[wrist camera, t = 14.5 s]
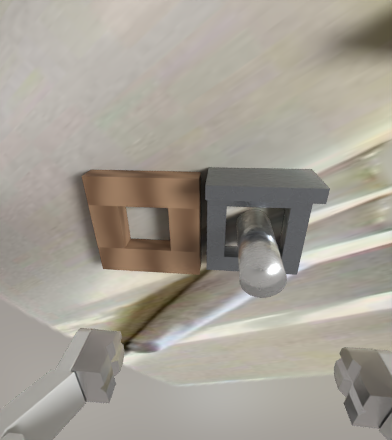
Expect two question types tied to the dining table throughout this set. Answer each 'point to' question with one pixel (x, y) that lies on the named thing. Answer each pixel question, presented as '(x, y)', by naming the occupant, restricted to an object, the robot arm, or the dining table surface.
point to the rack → (261, 197)
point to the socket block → (146, 197)
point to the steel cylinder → (259, 255)
